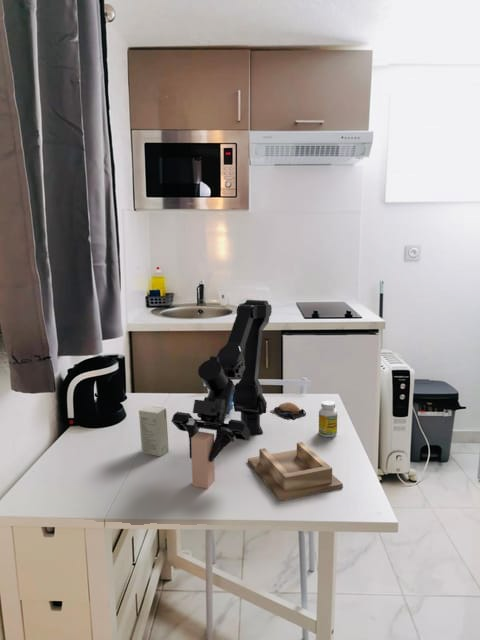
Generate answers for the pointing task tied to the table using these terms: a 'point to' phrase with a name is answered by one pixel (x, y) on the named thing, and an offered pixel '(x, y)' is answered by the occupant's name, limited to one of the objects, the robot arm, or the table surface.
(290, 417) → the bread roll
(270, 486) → the rack
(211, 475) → the clay block
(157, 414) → the skincare box
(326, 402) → the supplement bottle
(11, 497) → the table surface
